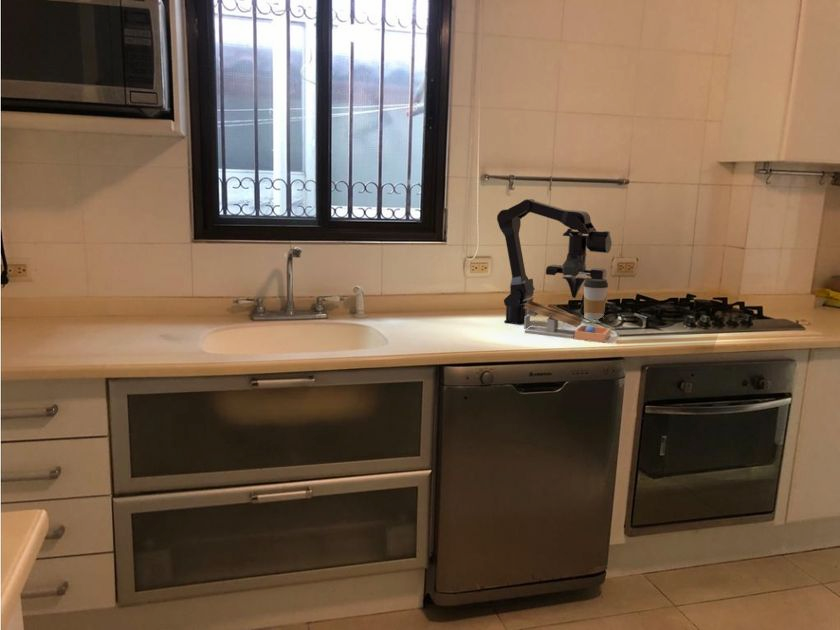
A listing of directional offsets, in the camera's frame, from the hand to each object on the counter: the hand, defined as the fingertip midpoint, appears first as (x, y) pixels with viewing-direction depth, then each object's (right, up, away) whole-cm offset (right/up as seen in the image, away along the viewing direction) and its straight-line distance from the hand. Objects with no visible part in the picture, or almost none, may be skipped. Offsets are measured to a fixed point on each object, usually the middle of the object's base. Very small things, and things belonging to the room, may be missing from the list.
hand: (574, 297), depth 217 cm
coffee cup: (+10, -8, +15) cm, 20 cm away
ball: (+3, -11, -8) cm, 14 cm away
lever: (-7, -7, -1) cm, 10 cm away
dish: (+4, -13, -8) cm, 16 cm away
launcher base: (-8, -12, -2) cm, 14 cm away
